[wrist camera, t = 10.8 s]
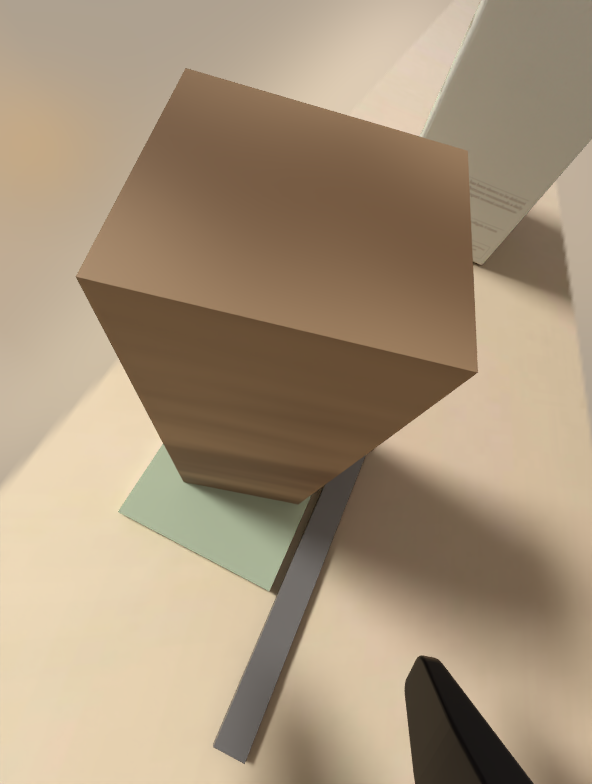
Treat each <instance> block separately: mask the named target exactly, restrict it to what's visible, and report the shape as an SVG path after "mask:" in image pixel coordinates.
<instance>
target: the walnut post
mask: <svg viewBox="0 0 592 784" xmlns="http://www.w3.org/2000/svg"><path fill="white" fill-rule="evenodd" d="M76 278H77V280H78V282H79V284H80V285H81V287H82V289H83V291H84V293H85V295H86V297H87V299H88V301H89V303H90V305H91V307H92V308H93V310H94V312H95V314H96V316H97V318H98V320H99V322H100V324H101V326H102V327H103V329H104V331H105V333H106V335H107V337H108V339H109V341H110V343H111V345H112V347H113V348H114V350H115V352H116V354H117V356H118V358H119V360H120V362H121V364H122V366H123V368H124V370H125V371H126V373H127V375H128V377H129V379H130V381H131V383H132V385H133V387H134V389H135V391H136V392H137V394H138V396H139V398H140V400H141V402H142V404H143V406H144V408H145V410H146V411H147V413H148V415H149V417H150V419H151V421H152V423H153V425H154V427H155V429H156V431H157V432H158V434H159V436H160V438H161V440H162V442H163V444H164V446H165V448H166V450H167V452H168V453H169V455H170V457H171V459H172V461H173V463H174V465H175V467H176V469H177V471H178V473H179V474H180V476H181V478H182V480H183V482H186V483H192V484H197V485H202V486H207V487H212V488H217V489H222V490H227V491H232V492H237V493H242V494H247V495H253V496H258V497H263V498H268V499H273V500H278V501H283V502H288V503H293V504H300V503H301V502H302V501H304V500H305V499H306V498H308V497H309V496H311V495H312V494H313V493H315V492H316V491H317V490H319V489H320V488H321V487H323V486H324V485H326V484H327V483H328V482H330V481H331V480H332V479H334V478H335V477H336V476H338V475H339V474H340V473H342V472H343V471H345V470H346V469H347V468H349V467H350V466H351V465H353V464H354V463H355V462H357V461H358V460H359V459H361V458H362V457H364V456H365V455H366V454H368V453H369V452H370V451H372V450H373V449H374V448H376V447H377V446H379V445H380V444H381V443H383V442H384V441H385V440H387V439H388V438H389V437H391V436H392V435H393V434H395V433H396V432H398V431H399V430H400V429H402V428H403V427H404V426H406V425H407V424H408V423H410V422H411V421H412V420H414V419H415V418H417V417H418V416H419V415H421V414H422V413H423V412H425V411H426V410H427V409H429V408H430V407H432V406H433V405H434V404H436V403H437V402H438V401H440V400H441V399H442V398H444V397H445V396H446V395H448V394H449V393H451V392H452V391H453V390H455V389H456V388H457V387H459V386H460V385H461V384H463V383H464V382H466V381H467V380H468V379H470V378H471V377H472V376H474V375H475V374H476V373H478V366H477V344H476V322H475V299H474V277H473V254H472V232H471V210H470V187H469V165H468V151H467V150H464V149H460V148H457V147H453V146H450V145H447V144H443V143H440V142H436V141H433V140H429V139H426V138H423V137H419V136H416V135H412V134H409V133H406V132H402V131H399V130H395V129H392V128H388V127H385V126H382V125H378V124H375V123H371V122H368V121H365V120H361V119H358V118H354V117H351V116H347V115H344V114H341V113H337V112H334V111H330V110H327V109H323V108H320V107H317V106H313V105H310V104H306V103H302V102H300V101H296V100H293V99H289V98H286V97H282V96H279V95H276V94H272V93H269V92H265V91H262V90H259V89H255V88H252V87H248V86H245V85H242V84H238V83H235V82H231V81H228V80H224V79H221V78H217V77H214V76H210V75H207V74H204V73H201V72H197V71H194V70H190V69H187V68H186V69H185V71H184V72H183V74H182V76H181V78H180V80H179V82H178V84H177V86H176V88H175V90H174V91H173V93H172V95H171V98H170V99H169V101H168V103H167V105H166V107H165V109H164V110H163V112H162V114H161V116H160V118H159V120H158V122H157V124H156V126H155V128H154V130H153V131H152V133H151V135H150V137H149V139H148V141H147V143H146V145H145V147H144V148H143V150H142V152H141V154H140V156H139V158H138V160H137V162H136V164H135V165H134V167H133V169H132V171H131V173H130V175H129V177H128V179H127V181H126V182H125V185H124V186H123V188H122V190H121V192H120V194H119V196H118V198H117V200H116V201H115V203H114V205H113V207H112V209H111V211H110V213H109V215H108V217H107V219H106V220H105V222H104V224H103V226H102V228H101V230H100V232H99V234H98V236H97V238H96V240H95V241H94V243H93V245H92V247H91V249H90V251H89V253H88V255H87V256H86V259H85V260H84V262H83V264H82V266H81V268H80V270H79V272H78V274H77V275H76Z"/></svg>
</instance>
